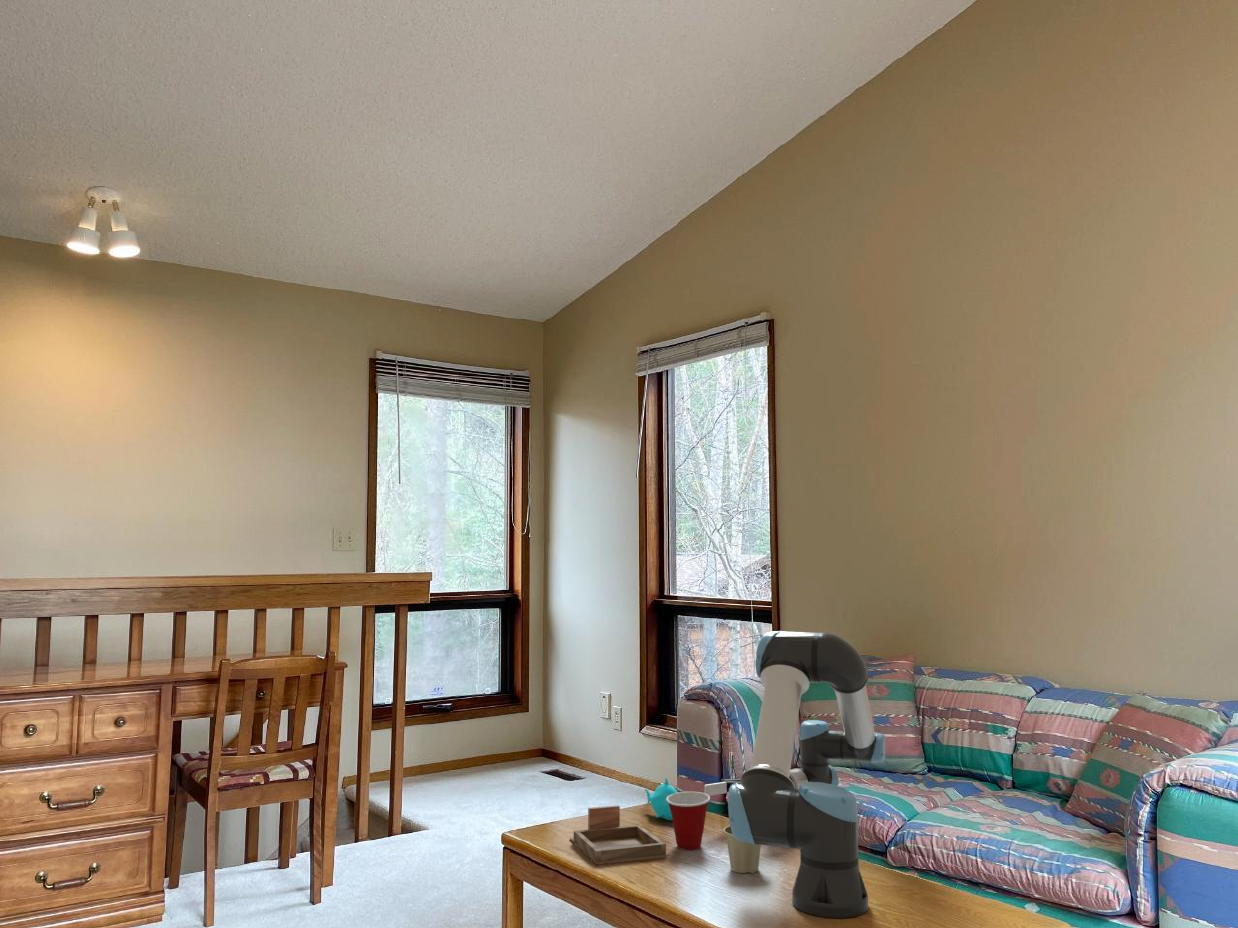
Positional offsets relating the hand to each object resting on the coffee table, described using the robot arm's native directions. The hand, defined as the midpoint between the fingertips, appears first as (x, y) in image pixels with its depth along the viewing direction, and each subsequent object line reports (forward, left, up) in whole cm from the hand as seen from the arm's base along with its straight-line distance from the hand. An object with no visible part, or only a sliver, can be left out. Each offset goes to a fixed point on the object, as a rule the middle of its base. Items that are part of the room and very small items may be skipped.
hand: (720, 796), depth 241 cm
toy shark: (+24, +5, -11) cm, 27 cm away
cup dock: (+3, +27, -11) cm, 29 cm away
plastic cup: (-2, +10, -11) cm, 15 cm away
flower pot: (-22, +5, -11) cm, 25 cm away
